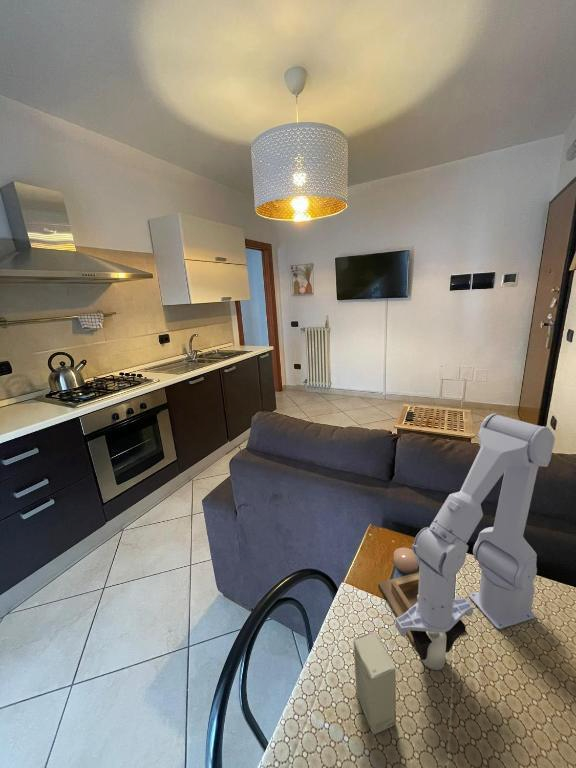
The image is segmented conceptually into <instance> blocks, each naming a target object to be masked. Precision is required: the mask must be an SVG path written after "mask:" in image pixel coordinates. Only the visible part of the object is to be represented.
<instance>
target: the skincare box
mask: <svg viewBox="0 0 576 768" xmlns="http://www.w3.org/2000/svg"><path fill="white" fill-rule="evenodd" d="M352 642H353V655H354V656H353V657H354V658H353V659H354V673H355V674H354V675H355V694H356V696H357V699H358V702H359V704H360V706H361V709H362V711H363V714H364V716H365V718H366V721H367V723H368V726H369V727H370V730H371V732H372V734H373V735H376V734H378V733H381V732H383V731H385V730H387V729H389V728H391V727H393V726H396V724H397V702H396V701H397V700H396V699H397V697H396V696H397V695H396V694H397V693H396V689H397V688H396V687H397V686H396V666H395V664H394V662H393V660H392V658H391V657H390V655H389V652H388V650H387V649H386V647H385V646H384V644H383V642H382V641H381V638H380V637H379V636H378V634H377V632H375V631H372V632H370V633H367V634H365V635H361V636H359V637H356V638H354V639H353V641H352Z"/></svg>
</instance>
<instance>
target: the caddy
mask: <svg viewBox="0 0 576 768" xmlns="http://www.w3.org/2000/svg"><path fill="white" fill-rule="evenodd" d="M377 586H378V588H379V590H380V591H381V593H382V595H383V597H384V599H385V600H386V602H387V604H388V605H389V607H390V609H391V610H392V612H393V613H394V616H395V618H397V617H400V616H402V615H403V614H404V613H406V612H407V611H408V610H409V609H410V608H411V607H412V606H414V605H415V604H416V603H417V602H418V599H417V595H418V586H419V571H416V572H415V573H411V574H407V575H402V576H399V577H395V578H390V579H388V580H383V581H380V582H378V585H377ZM464 625H465V626H466V624H465V623H464ZM406 636H407V638H408V639H409V641H410V643H411V644H412V646H415V643H414V640H413V637H412V634H411V632H410V630H408V631H407V633H406Z"/></svg>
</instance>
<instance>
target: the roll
mask: <svg viewBox="0 0 576 768" xmlns="http://www.w3.org/2000/svg"><path fill="white" fill-rule="evenodd" d="M426 633H427V635H428V636H429V638H430V639H431V641H432V643H430V645H429V647H428V650H427V657H426V659H425V660H421V661H422V663H423V664H424V666H426V667H427V668H428V669H430V670H433V671H441V670H443V668H444V667H445V664H446V639H447V636H446V633H445V632H428V631H426Z"/></svg>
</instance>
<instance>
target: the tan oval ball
mask: <svg viewBox="0 0 576 768" xmlns="http://www.w3.org/2000/svg"><path fill="white" fill-rule="evenodd" d="M416 560H417V557H416V555H415V554H414V553H413V550H412V549H411V548H408V547H399V548H397V549H395V550H394V553H393V565H394V566H395V568H396V569H397V570H398V571H400V572H402V573H404V574H407V575H410V574H414V573H417V572H418V571H419V564H418V563H417V562H416Z"/></svg>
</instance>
